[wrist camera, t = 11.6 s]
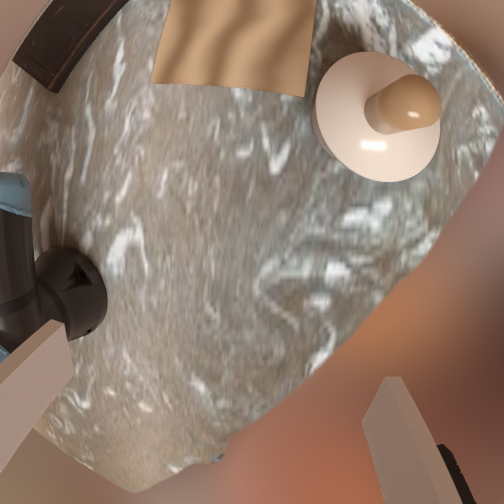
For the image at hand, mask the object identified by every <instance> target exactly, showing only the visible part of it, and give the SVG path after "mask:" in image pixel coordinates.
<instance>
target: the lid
mask: <svg viewBox="0 0 504 504" xmlns="http://www.w3.org/2000/svg"><path fill="white" fill-rule="evenodd" d="M440 113H441V102H440V98H439V95H438V93H437V91H436V89H435V88H434V86H433V85H432V84H431V83H430V82H429V81H428V80H426V79H425V78H423V77H421V76H419V75H418V74H417V73H416V72H415V71H414V70H413V69H412V68H410V67H409V66H408V65H406V64H405V63H403V62H402V61H400V60H398V59H396V58H394V57H392V56H389V55H386V54H382V53H377V52H359V53H354V54H351V55H348V56H346V57H343V58H341V59H340V60H338V61H337V62H336V63H334V64H333V65H332V66H331V67H330V68H329V70H328V71H327V72H326V74H325V75H324V77H323V78H322V80H321V82H320V84H319V87H318V90H317V93H316V99H315V116H316V121H317V126H318V129H319V131H320V134H321V137H322V139H323V141H324V143H325V144H326V146H327V147H328V149H329V150H330V152H331V153H332V154H333V155H334V157H335V158H336V159H337V160H338V161H339V162H340V163H341V164H342V165H344V166H345V167H346V168H348V169H349V170H350V171H352V172H354V173H356V174H357V175H360V176H362V177H364V178H367V179H371V180H376V181H383V182H395V181H401V180H405V179H408V178H410V177H412V176H414V175H416V174H417V173H419V172H420V171H421V170H422V169H423V168H424V167H425V166H426V165H427V164H428V163H429V162H430V160H431V158H432V157H433V155H434V153H435V151H436V148H437V145H438V141H439V135H440V120H439V116H440Z"/></svg>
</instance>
